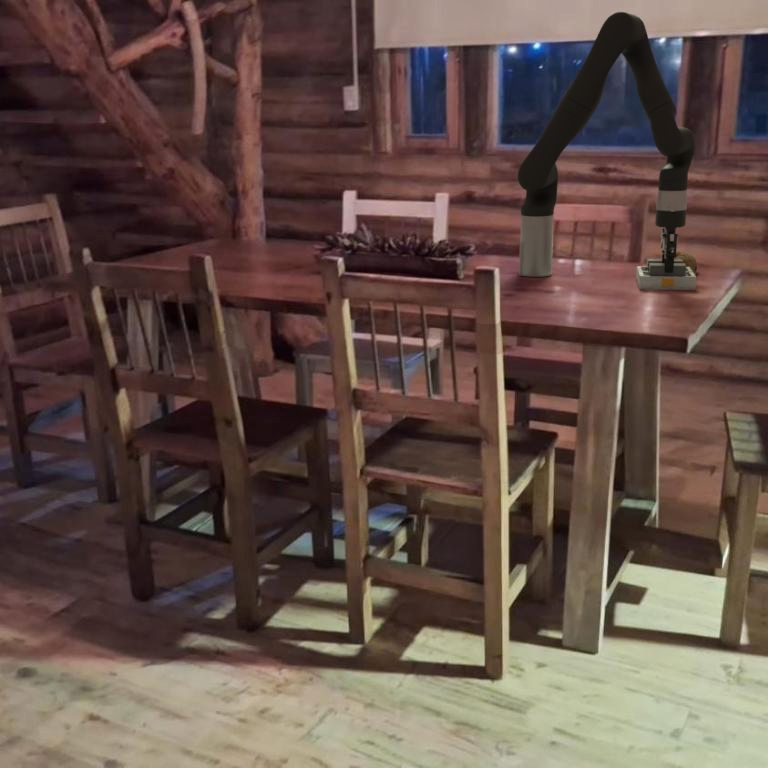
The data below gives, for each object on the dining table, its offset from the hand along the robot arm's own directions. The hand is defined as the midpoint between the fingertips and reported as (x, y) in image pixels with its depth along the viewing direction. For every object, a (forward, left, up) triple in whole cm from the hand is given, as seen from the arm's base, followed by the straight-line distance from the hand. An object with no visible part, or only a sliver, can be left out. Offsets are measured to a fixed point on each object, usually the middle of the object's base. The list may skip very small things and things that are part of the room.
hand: (667, 270), depth 231 cm
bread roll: (+5, +22, -5) cm, 23 cm away
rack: (0, +4, -5) cm, 6 cm away
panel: (0, +1, -4) cm, 4 cm away
